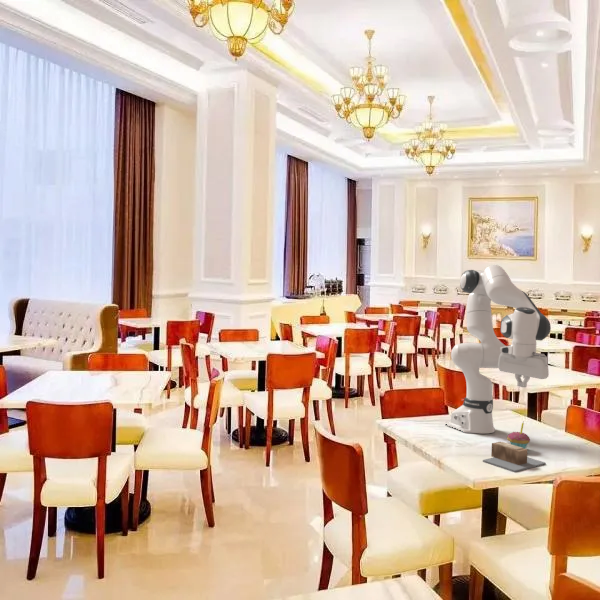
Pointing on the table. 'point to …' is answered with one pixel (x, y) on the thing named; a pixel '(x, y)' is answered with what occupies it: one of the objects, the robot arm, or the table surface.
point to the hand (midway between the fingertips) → (521, 386)
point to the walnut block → (509, 453)
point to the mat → (512, 466)
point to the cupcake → (519, 438)
